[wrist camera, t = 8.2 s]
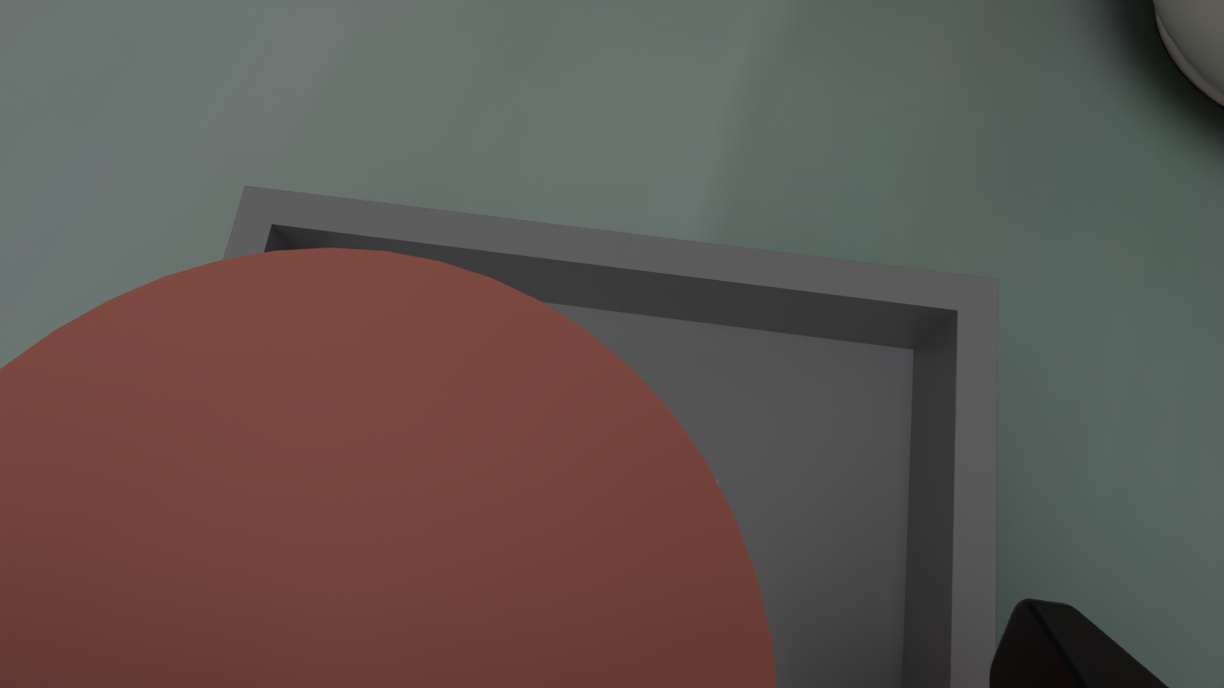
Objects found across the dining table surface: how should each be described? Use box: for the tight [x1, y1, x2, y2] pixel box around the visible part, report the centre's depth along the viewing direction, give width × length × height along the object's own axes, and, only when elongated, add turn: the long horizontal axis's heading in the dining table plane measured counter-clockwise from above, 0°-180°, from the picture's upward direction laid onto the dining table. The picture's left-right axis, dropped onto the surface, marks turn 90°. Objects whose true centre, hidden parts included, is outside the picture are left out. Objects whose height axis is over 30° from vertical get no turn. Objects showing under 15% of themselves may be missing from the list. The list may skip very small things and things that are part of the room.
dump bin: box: [223, 186, 998, 688], centre depth 15 cm, size 14×14×3 cm
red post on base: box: [0, 248, 777, 688], centre depth 9 cm, size 6×5×14 cm
